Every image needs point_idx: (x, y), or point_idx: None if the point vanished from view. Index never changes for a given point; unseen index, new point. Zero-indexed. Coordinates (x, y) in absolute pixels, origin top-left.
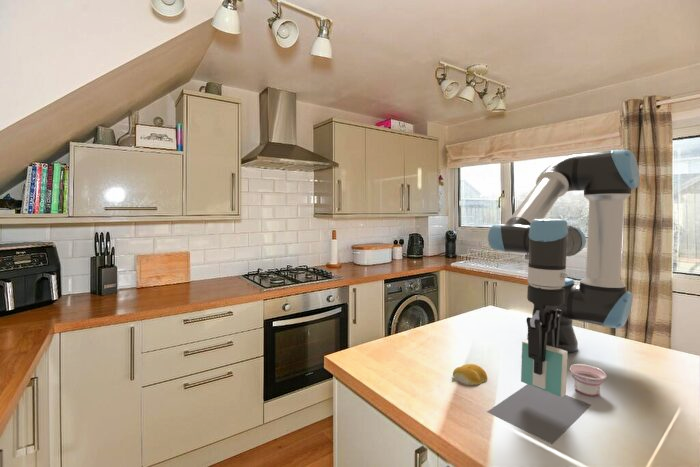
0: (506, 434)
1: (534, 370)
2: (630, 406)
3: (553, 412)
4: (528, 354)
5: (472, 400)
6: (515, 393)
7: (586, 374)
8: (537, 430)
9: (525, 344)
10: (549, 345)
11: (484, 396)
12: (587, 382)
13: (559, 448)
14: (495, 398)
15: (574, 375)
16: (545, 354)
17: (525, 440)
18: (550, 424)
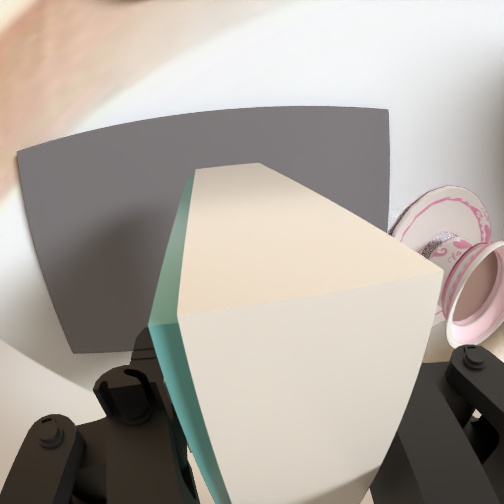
0: (5, 256)
1: (136, 347)
2: (434, 344)
3: None
4: (22, 444)
5: (50, 56)
6: (233, 113)
7: (495, 267)
8: (80, 307)
9: (170, 374)
10: (379, 490)
11: (112, 51)
12: (445, 308)
13: (89, 359)
14: (136, 82)
15: (459, 274)
16: (198, 501)
17: (32, 299)
18: (145, 312)
